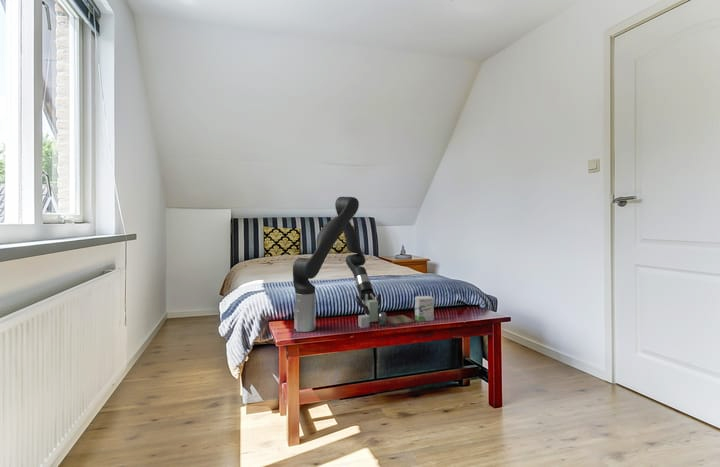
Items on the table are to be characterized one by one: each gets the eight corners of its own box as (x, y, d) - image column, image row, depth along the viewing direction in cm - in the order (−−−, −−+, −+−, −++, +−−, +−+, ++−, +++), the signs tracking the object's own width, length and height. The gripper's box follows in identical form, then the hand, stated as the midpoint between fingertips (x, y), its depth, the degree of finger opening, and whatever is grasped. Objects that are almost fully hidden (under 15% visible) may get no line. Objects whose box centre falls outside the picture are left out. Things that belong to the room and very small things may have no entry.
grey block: (361, 328, 185) (361, 317, 185) (358, 325, 188) (358, 315, 188) (369, 327, 186) (369, 316, 186) (365, 325, 190) (365, 314, 190)
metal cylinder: (380, 326, 187) (380, 314, 186) (377, 324, 190) (377, 312, 190) (387, 326, 188) (387, 313, 187) (384, 323, 191) (384, 311, 191)
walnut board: (393, 325, 189) (393, 323, 189) (382, 319, 200) (382, 317, 200) (415, 322, 194) (415, 320, 194) (403, 316, 205) (403, 314, 205)
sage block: (369, 322, 193) (369, 302, 192) (365, 319, 197) (365, 300, 196) (377, 321, 194) (377, 301, 194) (373, 319, 199) (374, 299, 198)
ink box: (418, 321, 196) (418, 298, 195) (414, 319, 200) (414, 296, 200) (434, 320, 198) (434, 297, 197) (429, 318, 203) (429, 295, 202)
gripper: (353, 281, 199) (362, 310, 188) (378, 280, 204) (388, 308, 194) (349, 290, 204) (357, 318, 193) (374, 288, 209) (383, 316, 199)
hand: (373, 313), depth 194 cm, fingers closed on sage block, 4 cm apart
